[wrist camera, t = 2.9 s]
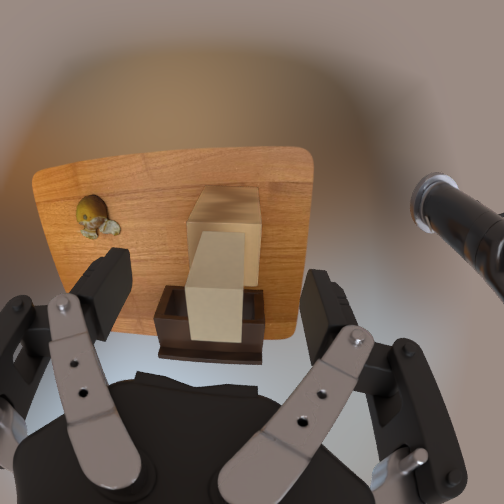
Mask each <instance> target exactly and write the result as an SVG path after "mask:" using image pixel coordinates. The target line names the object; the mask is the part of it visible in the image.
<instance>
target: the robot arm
mask: <svg viewBox="0 0 504 504" xmlns="http://www.w3.org/2000/svg"><path fill="white" fill-rule="evenodd" d="M419 212H420V217H421V219H422V221H423V223H424V224H425V225H427V226H428V227H429V229H430V231H431V232H432V230H433V231H434V232H435V233H437V235H439V236H440V237H441V238H442V239H443V240H444V241H445V242H446V243H447V244H449V245H450V246H451V247H452V248H453V249H454V250H455V251H456V252H457V253H458V254H459V255H460V256H462V258H463V259H464V260H465V261H466V262H467V263H469V265H470V266H472V267H473V269H474V270H475V271H476V272H477V273H478V274H479V275H480V276H481V277H482V278H483V279H484V280H485V282H486V283H487V284H488V285H489V287H491V289H492V290H493V291H494V292H495V293H496V295H497V296H498V297H499V298H500V300H501V301H502V302H503V304H504V218H503V217H504V213H502V214H497V213H495V212H494V211H492V210H491V209H489V208H488V207H486V206H484V205H483V204H481V203H480V202H479V201H478V200H475V199H473V198H471V197H470V196H468V195H467V194H465V193H463V192H462V191H460V190H458V189H457V188H455V187H453V186H452V185H451V184H449V183H447V182H444V181H438V182H435V183H433V184H431V185H430V186H429V187H428V188H427V189H426V190H425V192H424V194H423V196H422V198H421V201H420V206H419ZM432 233H433V232H432ZM132 281H133V280H132V270H131V261H130V253H129V250H128V249H123V248H115V247H112V248H111V249H110V250H109V252H108V253H107V254H106V256H105V257H100V258H98V259H97V260H95V261H94V262H92V264H91V265H90V266H89V267H88V269H87V270H86V271H85V273H84V274H83V276H81V278H80V279H79V280H78V282H77V283H76V284H75V286H74V287H73V288H72V290H71V291H70V292H69V293H64V294H60V295H57V296H56V297H54V298H53V299H52V300H51V301H50V302H49V304H48V305H45V306H34V305H33V303H32V300H31V298H30V297H28V296H26V295H19V296H16V297H14V298H12V299H11V300H10V301H9V302H8V303H7V304H6V306H5V307H4V308H3V309H2V311H1V312H0V469H7V470H8V471H10V472H12V473H14V478H15V483H16V491H17V504H442V503H444V502H446V501H448V500H450V499H453V498H455V497H457V496H458V495H460V494H461V493H462V492H463V490H464V489H465V487H466V484H467V479H468V478H467V471H466V467H465V463H464V460H463V456H462V453H461V450H460V447H459V443H458V440H457V437H456V434H455V431H454V428H453V425H452V422H451V420H450V417H449V414H448V411H447V409H446V406H445V403H444V401H443V398H442V396H441V393H440V390H439V388H438V386H437V383H436V381H435V378H434V376H433V374H432V371H431V369H430V367H429V365H428V362H427V360H426V358H425V356H424V354H423V351H422V349H421V348H420V346H419V345H418V344H417V343H415V342H414V341H412V340H410V339H406V338H400V339H397V340H396V341H395V342H394V344H393V345H392V346H389V345H384V344H381V343H376V342H374V339H373V336H372V335H371V334H370V333H369V332H368V331H367V330H366V329H364V328H362V327H360V326H358V323H357V321H356V319H355V316H354V314H353V311H352V309H351V307H350V306H349V302H348V300H347V299H346V295H345V293H344V291H343V289H342V288H341V287H340V286H339V285H338V284H337V283H335V282H331V281H330V278H329V276H328V274H327V271H325V270H315V269H309V270H308V273H307V276H306V280H305V283H304V287H303V290H302V294H301V297H300V313H301V318H302V322H303V327H304V332H305V337H306V341H307V346H308V350H309V356H310V361H311V365H312V366H313V367H312V368H311V369H310V371H309V372H308V373H307V375H306V376H305V377H304V378H303V380H302V381H301V382H300V384H299V385H298V386H297V387H296V389H295V390H294V391H293V393H292V394H291V395H290V396H289V398H288V399H287V400H286V401H285V403H284V404H283V405H280V404H279V403H277V402H276V401H273V400H271V399H269V398H267V397H264V396H261V395H258V386H247V385H233V384H223V385H214V386H205V387H193V386H189V385H187V384H184V383H181V382H179V381H176V380H174V379H171V378H168V377H166V376H160V375H155V374H150V373H144V372H139V371H137V373H136V375H135V379H130V380H123V381H119V382H116V383H113V384H111V385H109V384H108V382H107V379H106V377H105V374H104V372H103V369H102V366H101V364H100V361H99V358H98V356H97V353H96V350H95V347H94V343H95V341H96V340H100V341H104V342H105V341H106V340H107V337H108V335H109V333H110V331H111V329H112V327H113V325H114V323H115V321H116V319H117V317H118V315H119V313H120V311H121V309H122V307H123V305H124V303H125V301H126V299H127V297H128V295H129V293H130V291H131V288H132ZM19 343H21V345H22V346H23V347H22V349H21V351H20V353H19V355H18V356H17V358H16V360H15V362H14V363H13V354H14V352H15V350H16V348H17V346H18V344H19ZM50 359H52V365H53V370H54V375H55V379H56V383H57V387H58V391H59V395H60V399H61V403H62V406H63V409H64V414H63V415H61V416H60V417H58V418H57V419H55V420H53V421H52V422H50V423H49V424H47V425H45V426H44V427H42V428H40V429H39V430H37V431H36V432H34V433H32V434H31V435H29V436H28V435H27V426H26V423H25V419H26V416H27V414H28V411H29V408H30V405H31V403H32V400H33V398H34V395H35V393H36V390H37V388H38V385H39V383H40V380H41V378H42V376H43V374H44V372H45V369H46V367H47V365H48V363H49V361H50ZM352 391H357V392H362V393H365V394H366V398H367V402H368V407H369V411H370V416H371V420H372V425H373V430H374V435H375V440H376V444H377V450H378V454H379V460H380V462H379V463H378V464H377V465H376V467H375V468H374V470H373V472H372V482H371V486H370V488H369V486H368V485H367V484H366V483H365V482H364V481H363V480H362V479H360V478H359V477H358V476H357V475H356V474H354V472H352V471H351V470H350V469H349V468H348V467H347V466H346V465H344V464H343V463H342V462H341V461H340V460H339V459H338V458H337V457H336V456H334V455H333V454H332V453H331V452H330V451H329V450H328V449H327V448H326V447H325V446H324V445H322V442H323V440H324V439H325V437H326V435H327V434H328V432H329V431H330V429H331V428H332V426H333V424H334V423H335V421H336V419H337V418H338V416H339V414H340V412H341V411H342V409H343V407H344V406H345V404H346V402H347V400H348V398H349V397H350V395H351V393H352Z"/></svg>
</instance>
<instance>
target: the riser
mask: <svg viewBox="0 0 504 504" xmlns="http://www.w3.org/2000/svg"><path fill="white" fill-rule="evenodd" d="M186 223H187V240H188V255H189V269H191V266H192V262H193V259H194V256H195V253H196V250H197V247H198V244H199V241H200V238H201V235H202V232H203V231H212V232H240V233H245V245H244V279H243V286H258V272H259V259H260V245H261V231H262V221H261V211H260V201H259V191H258V187H242V186H205V187H204V189H203V191H202V193H201V195H200V196H199V198H198V200H197V202H196V204H195V206H194V208H193V210H192V212H191V214H190V216H189V218H188V220H187V222H186Z"/></svg>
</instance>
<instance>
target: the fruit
mask: <svg viewBox="0 0 504 504" xmlns="http://www.w3.org/2000/svg"><path fill="white" fill-rule="evenodd" d="M106 216H107V208H106V206H105V203H104V201H103V200H102V199H101V198H99V197H98V196H96V195H89V196H85V197H84V198H83V199H82V200H81V201H80V202H79V203H78V205H77V210H76V218H77V222H79V224H81V225H84V227H85V228H84V230H80V231H81V233H82V234H83V235H84V236H85V237H87V238H89V239H96V238H97V237H98V235H97V234H96V233H95V231H96V229H97V228H98V227H99V228H100V232H102V233H105V234H108V233H110V234H113V235H114V236H115V235H118V234H119V232H120V227H119V225H118V224H117V223H116V222H115V221H112V220H111V221H110V220H108V219H107V217H106Z"/></svg>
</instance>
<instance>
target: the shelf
mask: <svg viewBox="0 0 504 504" xmlns="http://www.w3.org/2000/svg"><path fill="white" fill-rule="evenodd" d="M154 323H155V327H156V331H157V335H158V339H159V343H160V349H159V352H158V357H159V358H162V359H171V360H181V361H192V362H205V363H222V364H246V365H262V347H263V339H264V330H265V315H264V300H263V290H245V289H243V308H242V335H241V343H237V342H216V341H200V340H191V334H190V327H189V319H188V311H187V303H186V294H185V287H182V286H165V289H164V291H163V294H162V296H161V299H160V302H159V304H158V307H157V309H156V312H155V315H154Z"/></svg>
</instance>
